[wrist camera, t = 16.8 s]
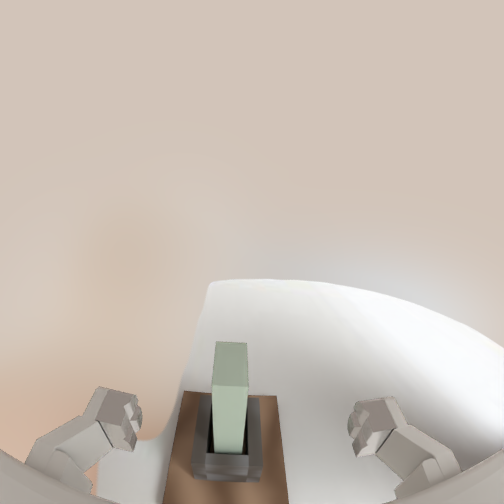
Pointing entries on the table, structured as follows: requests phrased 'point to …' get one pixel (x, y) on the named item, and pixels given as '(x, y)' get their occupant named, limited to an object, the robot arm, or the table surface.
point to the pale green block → (229, 397)
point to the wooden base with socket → (226, 457)
